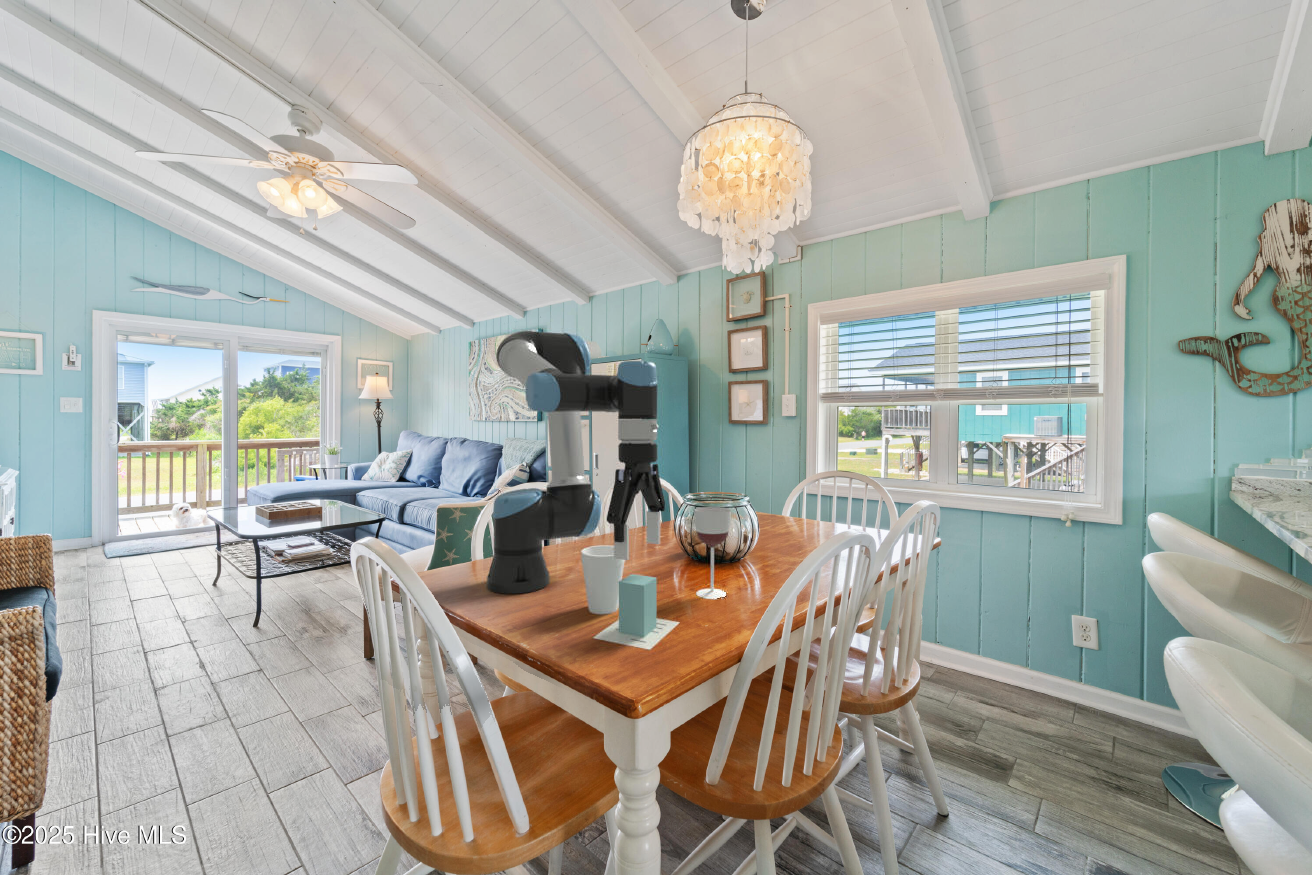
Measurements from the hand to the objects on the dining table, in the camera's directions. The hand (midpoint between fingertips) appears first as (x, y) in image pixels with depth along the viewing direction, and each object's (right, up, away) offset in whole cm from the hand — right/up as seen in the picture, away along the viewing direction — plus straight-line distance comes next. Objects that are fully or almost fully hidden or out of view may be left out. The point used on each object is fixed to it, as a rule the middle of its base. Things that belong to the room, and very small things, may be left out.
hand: (638, 550), depth 106 cm
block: (0, -16, +1) cm, 16 cm away
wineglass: (+17, -15, +23) cm, 32 cm away
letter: (0, -16, +1) cm, 16 cm away
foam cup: (-8, -16, +12) cm, 21 cm away
